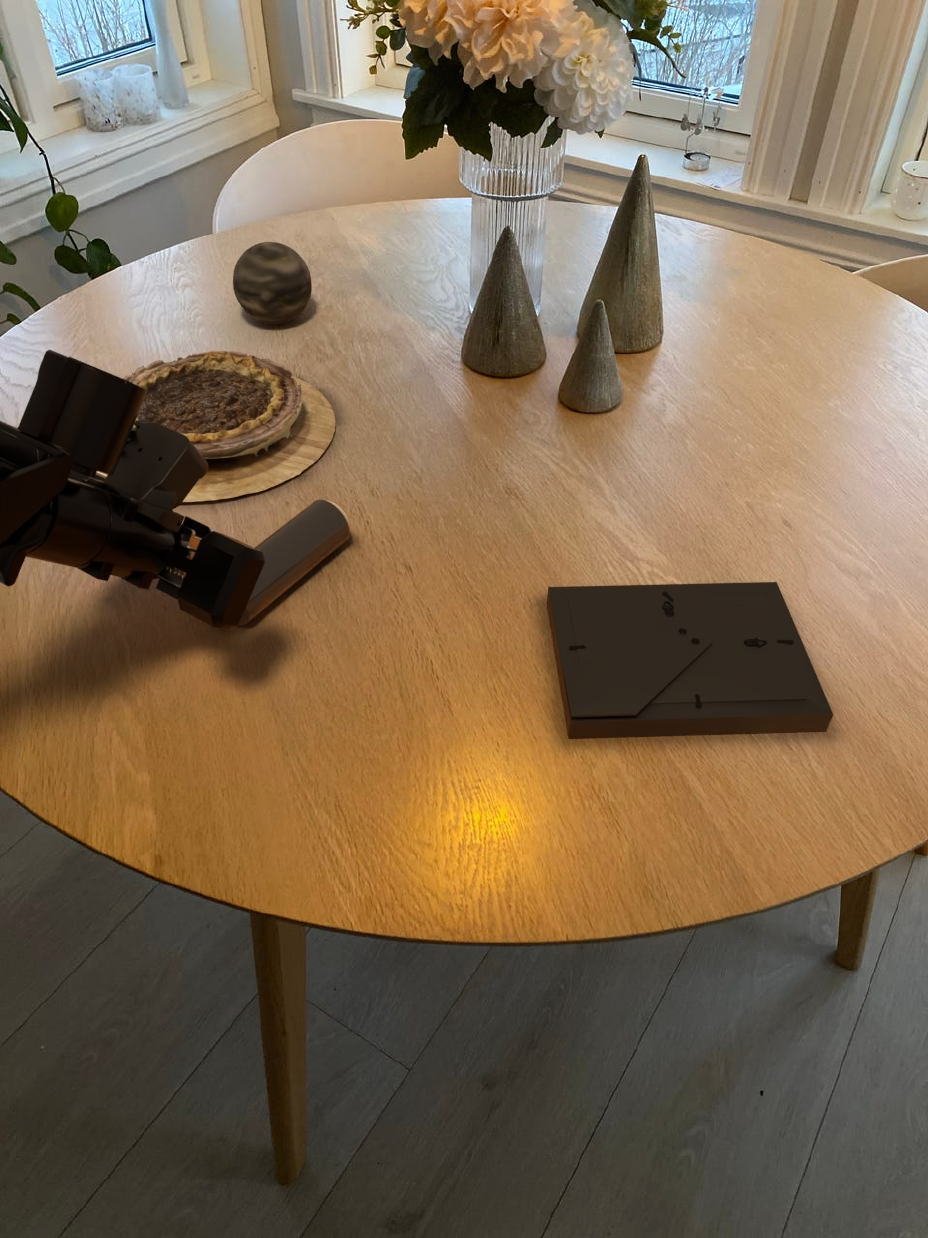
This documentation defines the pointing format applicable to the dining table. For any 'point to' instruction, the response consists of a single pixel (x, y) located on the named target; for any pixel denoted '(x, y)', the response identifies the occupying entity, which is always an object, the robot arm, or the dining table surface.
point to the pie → (237, 418)
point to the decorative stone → (272, 283)
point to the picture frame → (682, 661)
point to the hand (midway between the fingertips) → (219, 563)
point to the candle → (296, 552)
